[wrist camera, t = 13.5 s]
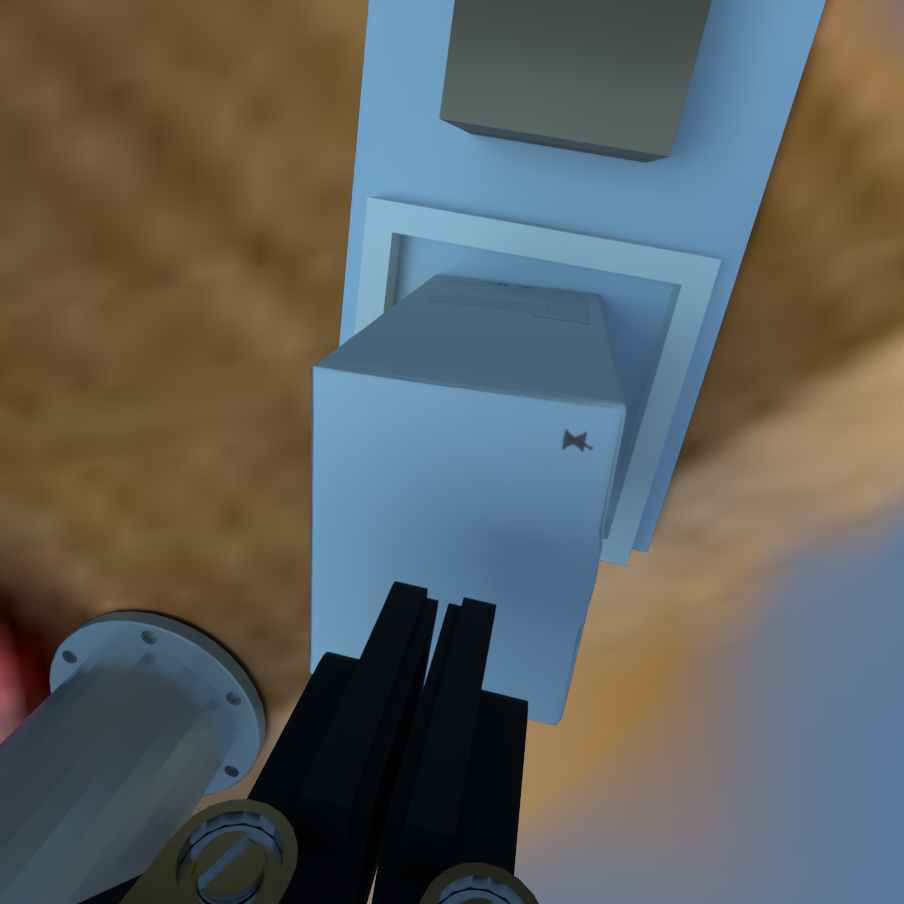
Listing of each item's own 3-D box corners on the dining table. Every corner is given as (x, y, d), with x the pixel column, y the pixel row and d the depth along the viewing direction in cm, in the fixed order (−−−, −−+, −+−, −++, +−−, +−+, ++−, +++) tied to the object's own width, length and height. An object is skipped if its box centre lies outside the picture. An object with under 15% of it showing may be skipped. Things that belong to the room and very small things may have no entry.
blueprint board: (643, 534, 29) (651, 571, 26) (338, 468, 30) (315, 497, 27) (838, -81, 20) (881, -122, 17) (395, -137, 21) (368, -184, 19)
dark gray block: (645, 162, 22) (670, 156, 17) (471, 133, 23) (439, 118, 17) (700, -55, 20) (750, -146, 14) (503, -81, 20) (478, -179, 15)
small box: (433, 271, 24) (304, 356, 13) (604, 291, 24) (639, 402, 12) (417, 467, 28) (303, 681, 16) (568, 490, 27) (566, 734, 15)
